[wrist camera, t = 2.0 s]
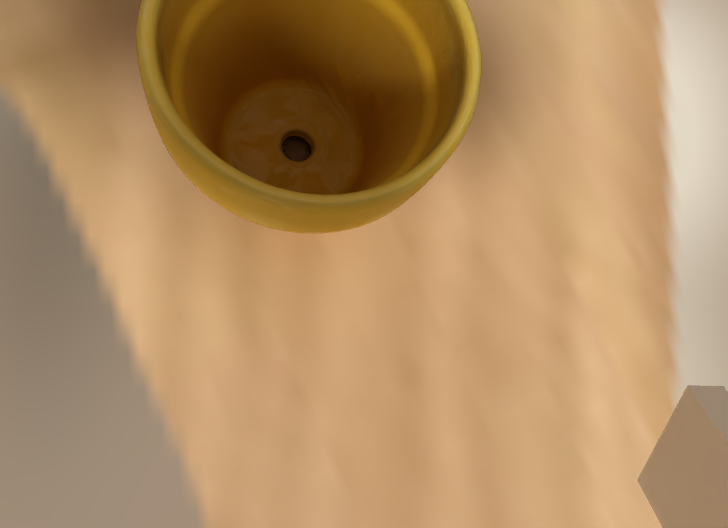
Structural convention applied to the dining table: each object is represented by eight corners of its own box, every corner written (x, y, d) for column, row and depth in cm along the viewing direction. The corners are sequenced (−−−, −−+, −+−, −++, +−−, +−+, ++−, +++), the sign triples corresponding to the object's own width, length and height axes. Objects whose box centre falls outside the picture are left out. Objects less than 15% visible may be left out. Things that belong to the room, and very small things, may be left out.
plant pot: (389, 36, 32) (453, -118, 22) (427, 255, 30) (513, 192, 21) (156, 49, 30) (117, -114, 20) (183, 285, 28) (153, 230, 18)
